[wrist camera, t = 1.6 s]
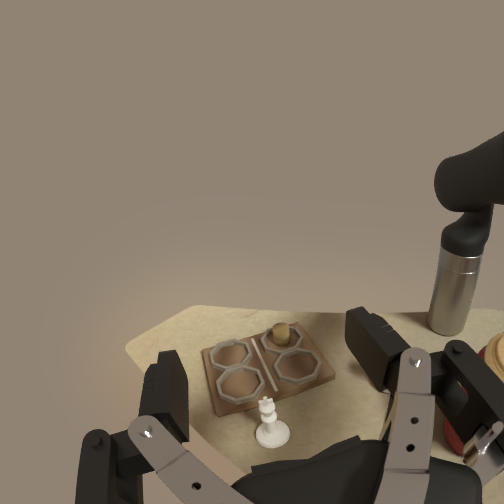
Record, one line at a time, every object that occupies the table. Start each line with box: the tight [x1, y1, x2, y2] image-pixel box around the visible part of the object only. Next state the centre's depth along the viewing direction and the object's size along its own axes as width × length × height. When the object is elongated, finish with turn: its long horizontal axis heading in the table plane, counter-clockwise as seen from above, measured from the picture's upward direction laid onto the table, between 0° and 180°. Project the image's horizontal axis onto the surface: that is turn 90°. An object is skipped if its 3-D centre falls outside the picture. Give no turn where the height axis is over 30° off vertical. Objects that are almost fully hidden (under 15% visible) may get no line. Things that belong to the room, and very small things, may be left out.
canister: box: [444, 332, 504, 456], centre depth 19 cm, size 13×13×18 cm
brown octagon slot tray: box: [202, 322, 335, 417], centre depth 45 cm, size 20×16×5 cm
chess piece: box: [256, 396, 290, 448], centre depth 30 cm, size 5×5×10 cm
